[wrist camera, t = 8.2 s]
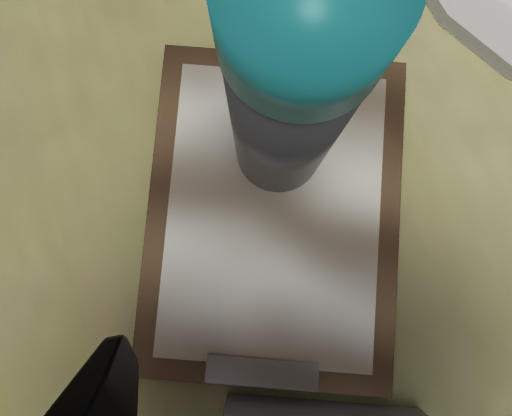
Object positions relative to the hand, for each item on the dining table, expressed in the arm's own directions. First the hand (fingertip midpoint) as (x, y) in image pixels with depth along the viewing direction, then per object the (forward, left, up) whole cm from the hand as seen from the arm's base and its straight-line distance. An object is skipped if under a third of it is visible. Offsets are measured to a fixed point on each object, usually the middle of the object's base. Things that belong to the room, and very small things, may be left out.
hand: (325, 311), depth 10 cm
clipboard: (+3, +1, -12) cm, 12 cm away
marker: (+6, +1, -11) cm, 13 cm away
